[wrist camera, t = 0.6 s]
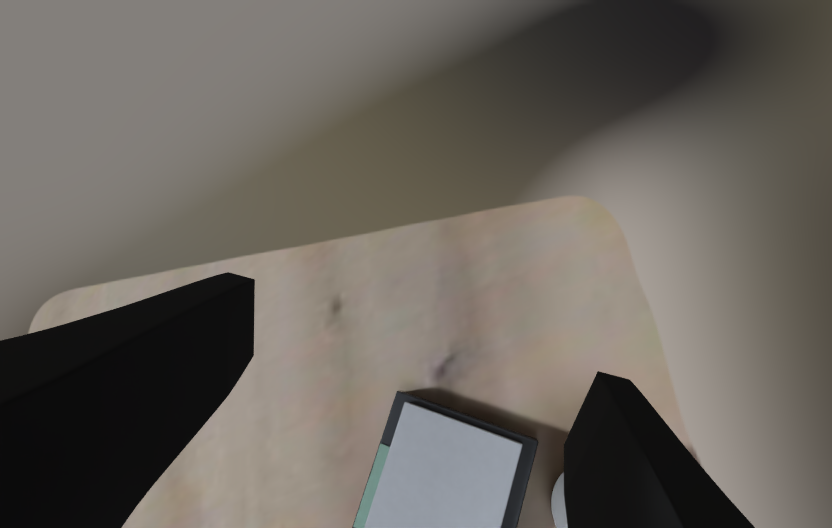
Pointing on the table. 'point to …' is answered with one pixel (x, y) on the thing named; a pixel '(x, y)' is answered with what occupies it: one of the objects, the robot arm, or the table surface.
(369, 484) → the scale
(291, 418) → the table surface
